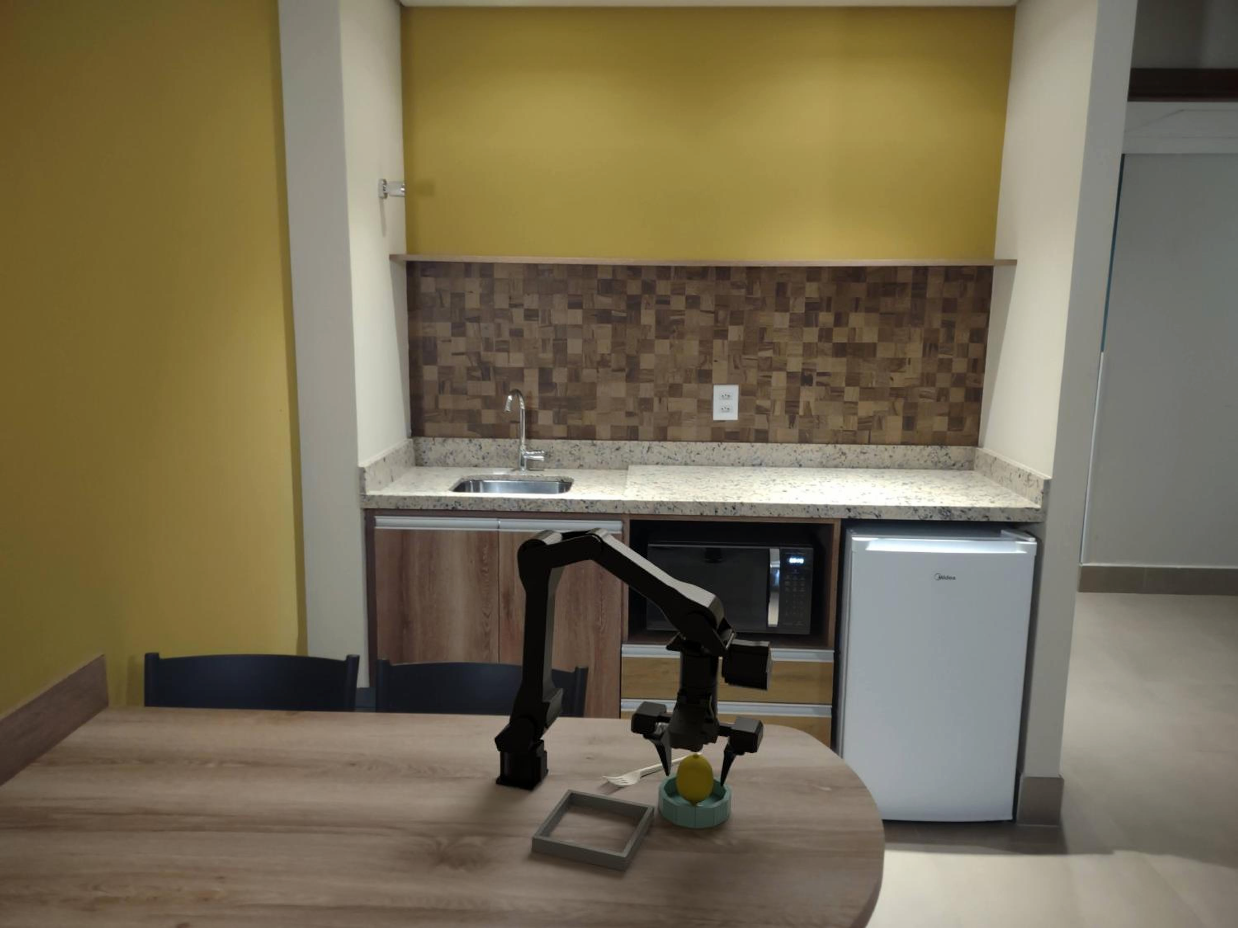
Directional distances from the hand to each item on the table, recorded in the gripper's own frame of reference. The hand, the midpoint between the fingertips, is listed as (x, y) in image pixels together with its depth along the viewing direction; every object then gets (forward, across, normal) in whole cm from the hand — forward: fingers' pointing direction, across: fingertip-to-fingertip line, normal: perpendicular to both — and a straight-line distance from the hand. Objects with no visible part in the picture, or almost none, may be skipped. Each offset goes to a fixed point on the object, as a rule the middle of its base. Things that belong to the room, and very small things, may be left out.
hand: (695, 779), depth 136 cm
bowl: (+4, 0, 0) cm, 4 cm away
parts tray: (+4, -12, -12) cm, 17 cm away
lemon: (+4, 0, 0) cm, 4 cm away
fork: (+5, -9, +9) cm, 14 cm away
